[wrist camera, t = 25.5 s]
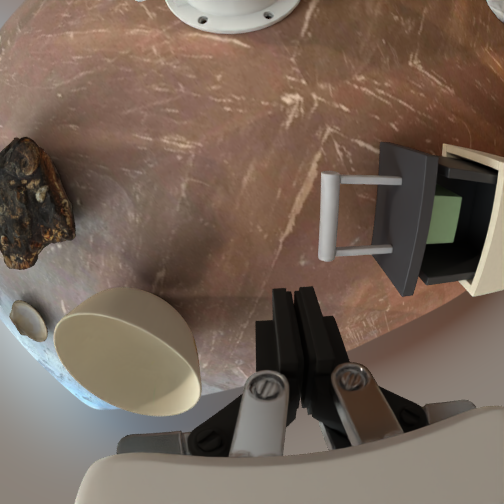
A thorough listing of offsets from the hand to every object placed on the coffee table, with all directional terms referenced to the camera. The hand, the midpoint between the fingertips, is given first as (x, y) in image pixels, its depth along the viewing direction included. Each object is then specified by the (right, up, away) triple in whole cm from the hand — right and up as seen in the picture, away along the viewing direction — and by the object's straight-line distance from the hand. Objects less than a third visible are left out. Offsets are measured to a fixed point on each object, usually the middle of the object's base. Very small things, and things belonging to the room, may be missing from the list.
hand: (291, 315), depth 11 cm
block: (+14, +7, +12) cm, 20 cm away
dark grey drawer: (+14, +8, +13) cm, 20 cm away
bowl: (-14, -5, +21) cm, 25 cm away
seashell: (-37, -8, +22) cm, 44 cm away
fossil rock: (-26, +9, +13) cm, 31 cm away
